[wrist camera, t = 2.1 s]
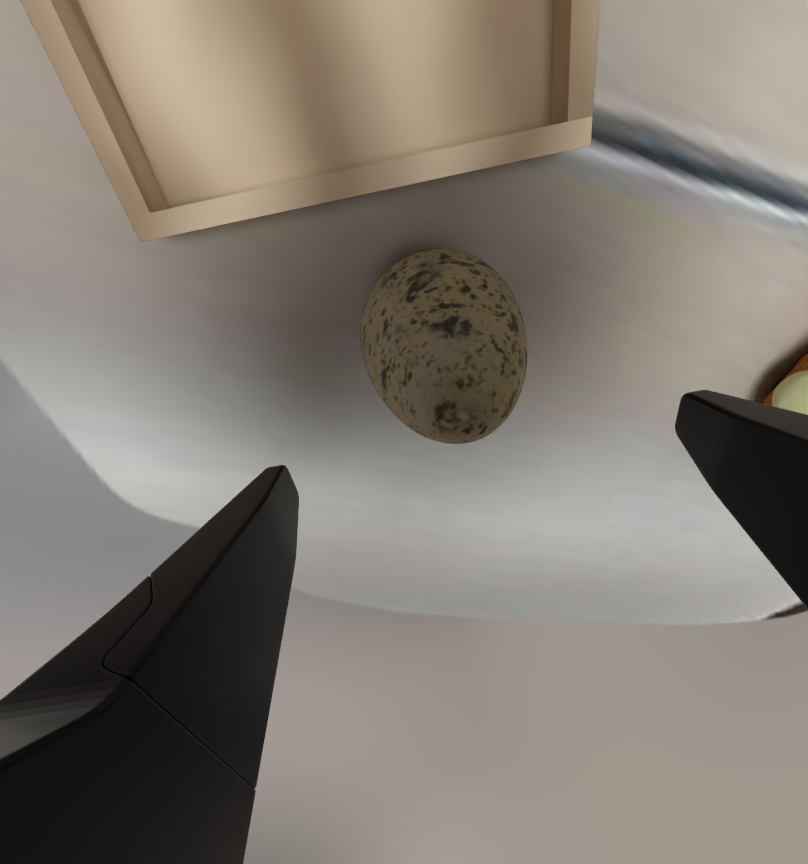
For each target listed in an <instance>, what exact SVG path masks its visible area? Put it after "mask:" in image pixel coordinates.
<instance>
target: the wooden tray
mask: <svg viewBox="0 0 808 864" xmlns="http://www.w3.org/2000/svg"><path fill="white" fill-rule="evenodd" d="M20 1H21V3H22V5H23V7H24V9H25V11H26V13H27V15H28V17H29V19H30V21H31V23H32V25H33V27H34V29H35V31H36V33H37V35H38V37H39V39H40V41H41V43H42V45H43V47H44V49H45V51H46V53H47V55H48V57H49V59H50V61H51V63H52V65H53V67H54V69H55V71H56V73H57V75H58V77H59V79H60V81H61V83H62V85H63V87H64V89H65V92H66V94H67V96H68V98H69V100H70V102H71V104H72V106H73V108H74V110H75V112H76V114H77V116H78V118H79V120H80V122H81V124H82V126H83V128H84V130H85V132H86V134H87V136H88V138H89V140H90V142H91V144H92V146H93V148H94V150H95V152H96V154H97V156H98V158H99V160H100V162H101V164H102V166H103V168H104V170H105V172H106V174H107V176H108V178H109V180H110V182H111V184H112V186H113V188H114V190H115V192H116V194H117V196H118V198H119V200H120V202H121V204H122V206H123V208H124V210H125V212H126V214H127V216H128V219H129V221H130V223H131V225H132V227H133V229H134V231H135V233H136V235H137V237H138V239H139V241H140V242H144V241H149V240H153V239H158V238H163V237H167V236H172V235H177V234H181V233H186V232H191V231H195V230H200V229H205V228H209V227H214V226H219V225H223V224H228V223H233V222H237V221H242V220H247V219H251V218H256V217H261V216H265V215H270V214H275V213H279V212H284V211H289V210H293V209H298V208H303V207H307V206H312V205H317V204H321V203H326V202H331V201H335V200H340V199H345V198H349V197H354V196H359V195H363V194H368V193H373V192H377V191H382V190H387V189H391V188H396V187H401V186H405V185H410V184H415V183H419V182H424V181H429V180H433V179H438V178H443V177H447V176H452V175H457V174H461V173H466V172H471V171H475V170H480V169H485V168H489V167H494V166H499V165H503V164H508V163H513V162H517V161H522V160H527V159H531V158H536V157H541V156H545V155H550V154H555V153H559V152H564V151H569V150H573V149H578V148H583V147H587V146H591V132H592V115H593V99H594V82H595V65H596V49H597V32H598V15H599V0H20Z"/></svg>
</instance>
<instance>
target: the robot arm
mask: <svg viewBox="0 0 808 864" xmlns="http://www.w3.org/2000/svg"><path fill="white" fill-rule="evenodd" d="M675 430H676V433H677V436H678V437H679V439H680V440H681V442H682V444H683V445H684V447H685V448H686V450H687V452H688V453H689V455H690V456H691V458H692V459H693V461H694V463H695V464H696V466H697V467H698V469H699V470H700V472H701V474H702V475H703V477H704V478H705V480H706V481H707V483H708V484H709V486H710V487H711V489H712V490H713V491H714V493H715V494H716V495H717V497H718V498H719V499H720V500H721V502H722V503H723V504H724V505H725V507H726V508H727V509H728V510H729V512H730V513H731V514H732V515H733V517H734V518H735V519H736V520H737V522H738V523H739V524H740V525H741V527H742V528H743V529H744V530H745V532H746V533H747V534H748V535H749V536H750V538H751V539H752V540H753V541H754V543H755V544H756V545H757V546H758V548H759V549H760V550H761V551H762V553H763V554H764V555H765V556H766V558H767V559H768V560H769V561H770V563H771V564H772V565H773V566H774V568H775V569H776V570H777V571H778V572H779V574H780V575H781V576H782V577H783V579H784V580H785V581H786V582H787V584H788V585H789V586H790V587H791V589H792V590H793V591H794V592H795V594H796V595H797V596H798V597H799V599H800V600H801V601H802V602H803V604H804V605H805V606H806V607H807V609H808V415H807V414H803V413H798V412H794V411H790V410H786V409H782V408H778V407H774V406H770V405H766V404H762V403H758V402H753V401H749V400H745V399H741V398H737V397H733V396H729V395H725V394H721V393H717V392H712V391H708V390H700V391H695V392H689V393H686V394H684V395H683V396H682V398H681V401H680V405H679V410H678V414H677V419H676V423H675ZM298 509H299V496H298V491H297V489H296V487H295V484H294V482H293V480H292V477H291V475H290V473H289V471H288V469H287V468H286V466H284V465H280V466H274V467H269V468H266V469H265V470H264V471H263V472H262V473H261V474H260V475H259V476H258V477H256V478H255V479H254V480H253V481H252V482H251V483H250V484H249V485H248V486H247V487H245V488H244V489H243V490H242V491H241V492H240V493H239V494H238V495H237V496H236V497H234V498H233V499H232V500H231V501H230V502H229V503H228V504H227V505H226V506H225V507H224V508H222V509H221V510H220V511H219V512H218V513H217V514H216V515H215V516H214V517H213V518H211V519H210V520H209V521H208V522H207V523H206V524H205V525H204V526H203V527H202V528H200V529H199V530H198V531H197V532H196V533H195V534H194V535H193V536H192V537H191V538H190V539H188V540H187V541H186V542H185V543H184V544H183V545H182V546H181V547H180V548H179V549H177V550H176V551H175V552H174V553H173V554H172V555H171V556H170V557H169V558H168V559H166V560H165V561H164V562H163V563H162V564H161V565H160V566H159V567H158V568H157V569H155V570H154V571H153V572H152V573H151V577H150V576H148V577H147V578H145V579H144V581H142V582H141V583H140V584H139V585H138V586H137V587H136V588H135V589H133V591H131V592H130V593H129V594H128V595H127V596H126V597H125V598H123V599H122V600H121V601H120V602H119V603H118V604H117V605H115V606H114V607H113V608H112V609H111V610H110V611H109V612H108V613H106V614H105V615H104V616H103V617H102V618H100V619H99V620H98V621H97V622H96V623H95V624H93V625H92V626H91V627H89V628H88V629H87V630H86V631H85V632H84V633H82V634H81V635H80V636H79V637H77V638H76V639H75V640H74V641H72V642H71V643H70V644H69V645H68V646H66V647H65V648H64V649H63V650H61V651H60V652H59V653H58V654H57V655H55V656H54V657H53V658H52V659H51V660H49V661H48V662H47V663H46V664H44V665H43V666H42V667H41V668H39V669H38V670H37V671H36V672H34V673H33V674H32V675H31V676H30V677H28V678H27V679H26V680H25V681H23V682H22V683H21V684H20V685H18V686H17V687H16V688H15V689H14V690H12V691H11V692H10V693H9V694H8V695H6V696H5V697H4V698H2V699H1V700H0V864H243V860H244V855H245V849H246V843H247V837H248V831H249V826H250V820H251V814H252V809H253V803H254V797H255V789H254V788H255V787H256V784H257V779H258V773H259V767H260V761H261V755H262V750H263V744H264V739H265V733H266V727H267V721H268V716H269V710H270V703H271V698H272V692H273V687H274V681H275V675H276V669H277V664H278V658H279V652H280V647H281V641H282V635H283V630H284V624H285V618H286V611H287V607H288V601H289V595H290V589H291V584H292V578H293V572H294V566H295V559H296V548H297V529H298Z"/></svg>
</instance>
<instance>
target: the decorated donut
mask: <svg viewBox="0 0 808 864" xmlns="http://www.w3.org/2000/svg"><path fill="white" fill-rule="evenodd" d="M762 404H766V405H770V406H774V407H778V408H782V409H786V410H790V411H794V412H798V413H803V414H807V415H808V353H807V354H805V355H804V356H803V357H802V358H801V359H800V360H799V361H798V362H797V364H796V365H795V366H794V368H793V369H792V370H791V371H790V372H789V373H788V374H787V375H786V376H785V377H784V378H783V379H782V380H781V381H780V383H779V384H778V385H777V387H776V388H775V389H774V390H772V391H770V392H769V393H768V394H767V395H766V396H765V398H764V399H763V403H762Z"/></svg>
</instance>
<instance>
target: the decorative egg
mask: <svg viewBox="0 0 808 864" xmlns="http://www.w3.org/2000/svg"><path fill="white" fill-rule="evenodd" d="M361 348H362V354H363V359H364V362H365V365H366V368H367V371H368V374H369V376H370V379H371V381H372V383H373V385H374V387H375V389H376V390H377V392H378V393H379V395H380V397H381V398H382V400H383V401H384V402H385V404H386V405H387V406H388V407H389V409H390V410H391V411H392V412H393V413H394V414H395V416H396V417H397V418H398V419H400V420H401V421H402V422H403V423H404V424H405V425H407V426H408V427H409V428H411V429H412V430H413V431H415V432H417V433H418V434H421V435H422V436H424V437H427V438H429V439H432V440H435V441H439V442H443V443H450V444H462V443H469V442H473V441H476V440H479V439H482V438H483V437H485V436H487V435H489V434H490V433H492V432H493V431H494V430H496V429H497V428H498V427H499V426H500V425H501V424H502V423H503V422H504V421H505V420H506V419H507V417H508V416H509V414H510V413H511V411H512V410H513V408H514V406H515V404H516V402H517V400H518V398H519V395H520V393H521V390H522V386H523V383H524V379H525V373H526V365H527V342H526V333H525V327H524V322H523V318H522V315H521V312H520V309H519V306H518V304H517V302H516V300H515V298H514V296H513V294H512V292H511V291H510V289H509V287H508V286H507V284H506V283H505V282H504V280H503V279H502V278H501V277H500V276H499V275H498V274H497V273H496V272H495V271H494V270H493V269H492V268H491V267H490V266H488V265H487V264H486V263H484V262H483V261H481V260H479V259H478V258H476V257H474V256H472V255H469V254H467V253H464V252H460V251H456V250H451V249H431V250H425V251H421V252H418V253H415V254H412V255H409V256H407V257H405V258H404V259H402V260H400V261H399V262H397V263H396V264H394V265H393V266H392V267H391V268H390V269H388V270H387V271H386V272H385V273H384V274H383V276H382V277H381V278H380V279H379V280H378V282H377V283H376V285H375V286H374V288H373V290H372V292H371V293H370V295H369V297H368V300H367V302H366V305H365V308H364V312H363V317H362V323H361Z"/></svg>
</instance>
